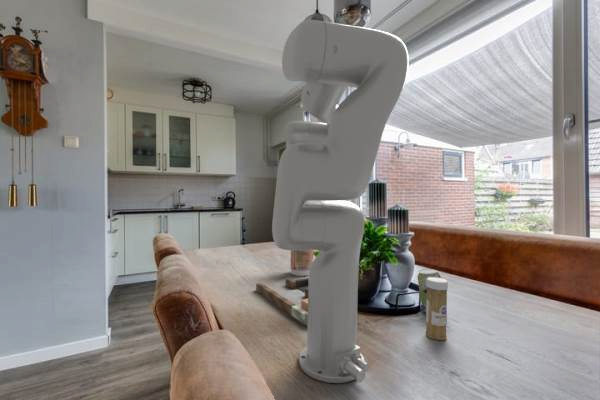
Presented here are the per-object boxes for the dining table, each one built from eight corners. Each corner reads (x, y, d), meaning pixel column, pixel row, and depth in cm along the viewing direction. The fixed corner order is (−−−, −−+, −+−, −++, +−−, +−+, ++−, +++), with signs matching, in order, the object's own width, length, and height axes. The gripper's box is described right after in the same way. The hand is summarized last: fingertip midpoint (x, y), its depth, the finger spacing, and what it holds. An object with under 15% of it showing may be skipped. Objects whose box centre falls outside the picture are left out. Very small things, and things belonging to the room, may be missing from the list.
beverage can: (448, 318, 76) (449, 274, 76) (419, 315, 78) (420, 272, 77) (441, 309, 82) (442, 268, 82) (414, 307, 84) (415, 267, 84)
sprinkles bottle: (440, 343, 63) (441, 283, 63) (421, 335, 66) (422, 278, 66) (450, 337, 65) (451, 279, 65) (431, 329, 69) (432, 275, 69)
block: (331, 317, 76) (331, 302, 76) (313, 322, 73) (314, 307, 73) (318, 310, 81) (318, 296, 81) (301, 314, 78) (301, 299, 78)
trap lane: (369, 310, 81) (369, 299, 81) (307, 327, 69) (307, 315, 69) (308, 281, 108) (308, 273, 108) (256, 290, 97) (256, 281, 97)
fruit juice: (285, 273, 120) (286, 207, 119) (301, 269, 126) (302, 207, 126) (301, 277, 113) (302, 208, 113) (317, 273, 119) (318, 208, 119)
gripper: (322, 168, 82) (321, 231, 81) (295, 172, 94) (295, 227, 94) (300, 166, 78) (299, 232, 77) (275, 170, 90) (275, 227, 90)
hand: (297, 229), depth 86 cm, fingers closed
